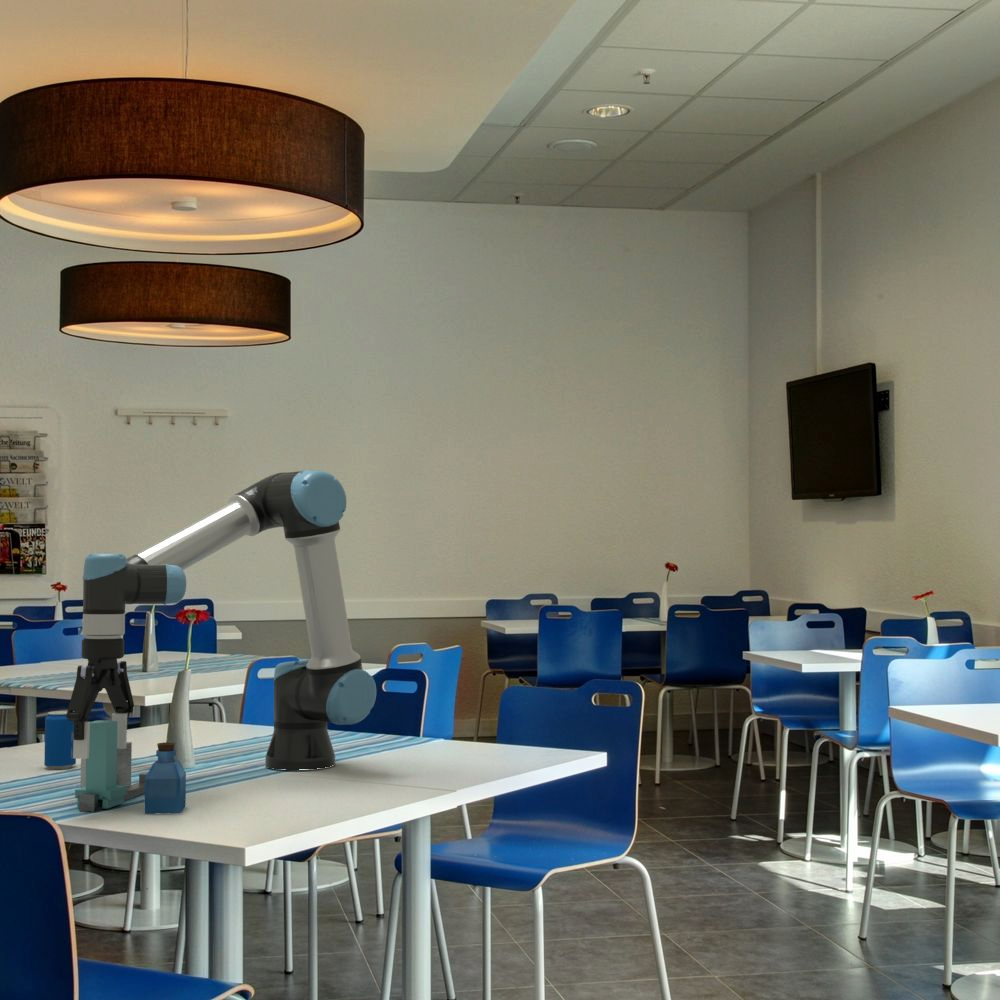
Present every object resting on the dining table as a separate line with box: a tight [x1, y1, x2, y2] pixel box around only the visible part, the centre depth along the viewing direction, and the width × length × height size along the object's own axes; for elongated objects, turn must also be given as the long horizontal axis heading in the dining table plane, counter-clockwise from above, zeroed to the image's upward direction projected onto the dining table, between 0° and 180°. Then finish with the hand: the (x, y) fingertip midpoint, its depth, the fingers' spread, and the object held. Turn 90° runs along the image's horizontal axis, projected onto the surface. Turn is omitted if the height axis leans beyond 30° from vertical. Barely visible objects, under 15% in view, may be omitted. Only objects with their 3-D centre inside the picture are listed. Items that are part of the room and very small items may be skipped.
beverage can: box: [43, 710, 77, 771], centre depth 283 cm, size 6×6×12 cm
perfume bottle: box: [144, 742, 187, 815], centre depth 236 cm, size 6×6×12 cm
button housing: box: [80, 741, 133, 788], centre depth 256 cm, size 7×7×9 cm
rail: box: [78, 772, 148, 813], centre depth 246 cm, size 3×24×3 cm, turn 168°
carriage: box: [74, 719, 127, 809], centre depth 239 cm, size 7×6×15 cm
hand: (100, 753), depth 239 cm, fingers open, 13 cm apart
